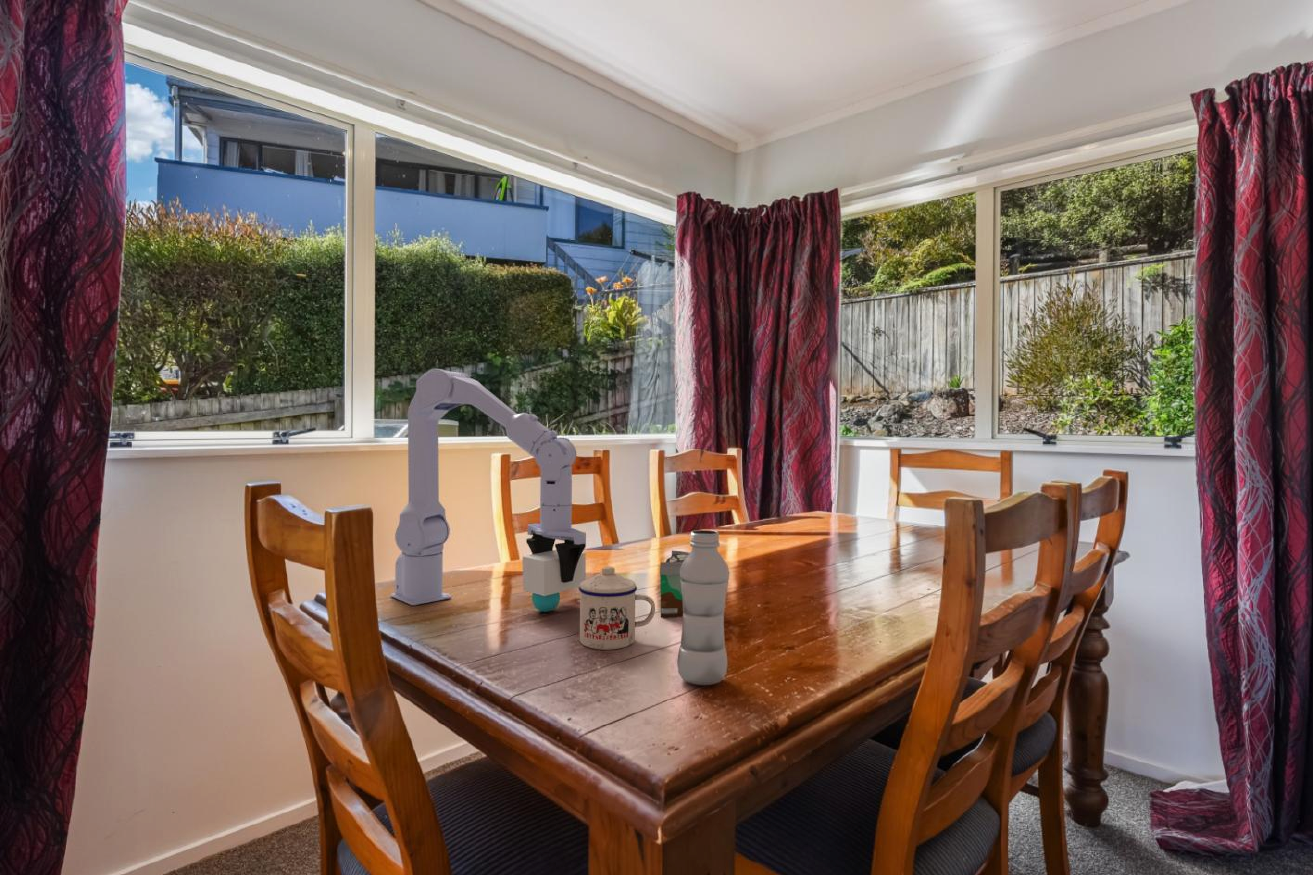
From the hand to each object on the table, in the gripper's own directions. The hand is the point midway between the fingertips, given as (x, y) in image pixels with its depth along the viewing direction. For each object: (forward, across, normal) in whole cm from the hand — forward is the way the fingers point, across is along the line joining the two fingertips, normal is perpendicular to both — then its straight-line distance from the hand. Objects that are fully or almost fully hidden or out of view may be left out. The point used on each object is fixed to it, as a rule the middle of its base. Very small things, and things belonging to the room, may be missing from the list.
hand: (555, 578), depth 122 cm
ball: (+3, 0, -2) cm, 4 cm away
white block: (+2, 0, 0) cm, 2 cm away
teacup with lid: (+6, +21, -4) cm, 22 cm away
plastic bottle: (+6, +41, -8) cm, 42 cm away
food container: (+6, +17, +16) cm, 24 cm away
